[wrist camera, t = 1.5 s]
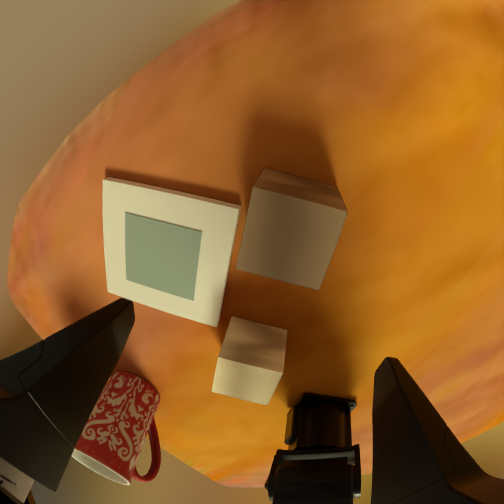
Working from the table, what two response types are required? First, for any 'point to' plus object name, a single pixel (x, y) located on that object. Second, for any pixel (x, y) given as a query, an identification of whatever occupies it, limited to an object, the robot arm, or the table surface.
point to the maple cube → (250, 361)
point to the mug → (121, 430)
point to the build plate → (168, 248)
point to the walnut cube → (291, 228)
